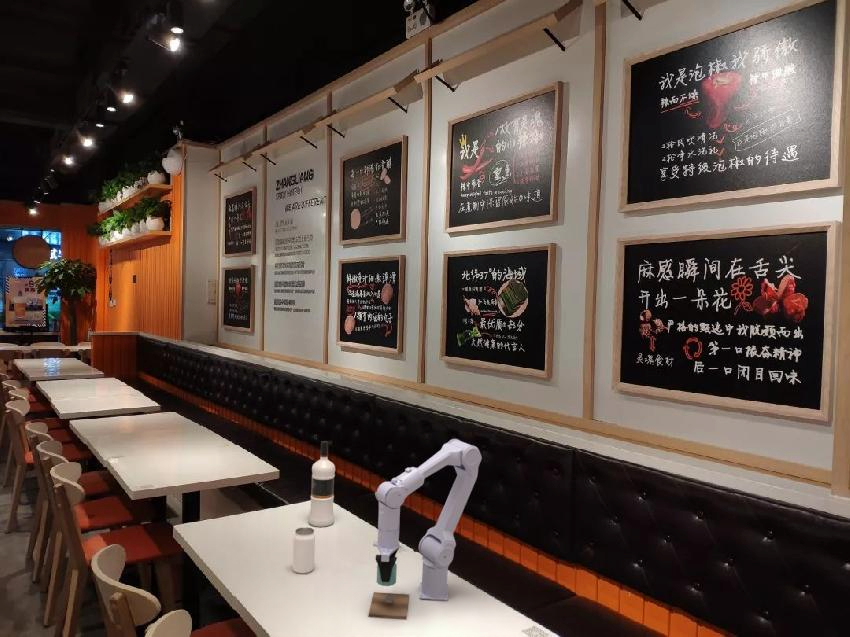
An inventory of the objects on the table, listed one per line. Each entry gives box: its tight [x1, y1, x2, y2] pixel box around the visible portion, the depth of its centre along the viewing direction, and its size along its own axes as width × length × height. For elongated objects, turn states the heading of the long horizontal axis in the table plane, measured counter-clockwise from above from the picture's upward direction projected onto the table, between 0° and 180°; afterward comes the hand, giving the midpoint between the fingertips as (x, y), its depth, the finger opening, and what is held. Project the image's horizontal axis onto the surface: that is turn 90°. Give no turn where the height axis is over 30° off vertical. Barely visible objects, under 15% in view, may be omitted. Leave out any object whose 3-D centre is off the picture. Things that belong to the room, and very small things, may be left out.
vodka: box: [307, 440, 336, 528], centre depth 228 cm, size 9×9×30 cm
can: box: [291, 526, 316, 575], centre depth 191 cm, size 6×6×12 cm
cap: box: [376, 563, 398, 587], centre depth 171 cm, size 5×5×4 cm
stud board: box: [367, 591, 410, 620], centre depth 171 cm, size 12×10×4 cm
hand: (386, 576), depth 171 cm, fingers closed on cap, 5 cm apart
